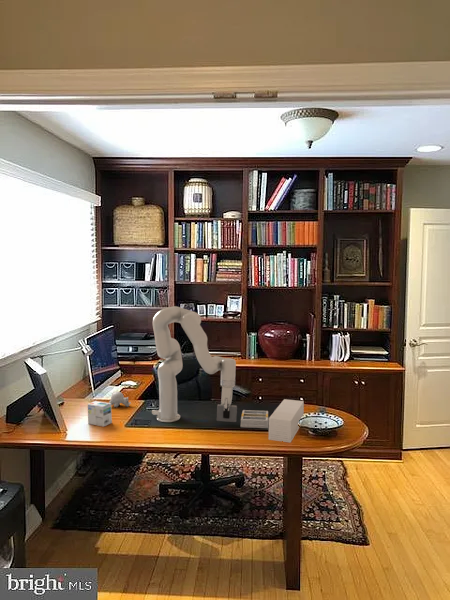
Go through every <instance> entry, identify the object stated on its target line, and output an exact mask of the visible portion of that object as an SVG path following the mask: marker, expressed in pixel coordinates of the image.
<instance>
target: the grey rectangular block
mask: <svg viewBox="0 0 450 600" xmlns="http://www.w3.org/2000/svg"><path fill="white" fill-rule="evenodd" d="M304 402H305V401H304V400H297V399H296V400H295V399H287V398H286V399H285V398H284V399H283V400H282V401H281V403H279V405H278V406H277V407H276V408H275V409H274V411H273V413H272V414H271V415H270V416H268V441H276V442H282V441H283V442H284V443H292V441H293V439H294V437H295V436H296V435H297V433H298V431H299V430H300V428H299V426H298V422H299V420H300V419H301V417H302V416H303V415H304V414H305V411H304V410H305V409H304V408H305V406H304V405H305V403H304ZM304 416H305V415H304Z"/></svg>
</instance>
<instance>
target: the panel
mask: <svg viewBox="0 0 450 600" xmlns="http://www.w3.org/2000/svg"><path fill="white" fill-rule="evenodd" d="M223 410H224V404H223V405H221V403H220V404H219V403H218V404H217V406H216V422H226V423H227V422H231V423H236V422H237V413H238V411H237V410H238V406H237V405H235V404H231V405H230V406H229V411H230V416H229V419H227V418H223Z"/></svg>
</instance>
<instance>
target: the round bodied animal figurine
mask: <svg viewBox="0 0 450 600" xmlns="http://www.w3.org/2000/svg"><path fill="white" fill-rule="evenodd" d="M108 403H111V406H113V407H114V408H118V407H119V406H120V404H122V405H124V406H125V407H126V408H127V407H129V406H130V405H132V403H131V401H129V396H127V397H124V394H123V392H121V391H117V390H116V391H115V392H112V394H111V396H110V400H109V402H108Z"/></svg>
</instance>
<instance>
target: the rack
mask: <svg viewBox="0 0 450 600" xmlns="http://www.w3.org/2000/svg"><path fill="white" fill-rule="evenodd" d="M240 428H252V429H253V428H255V429H269V411H268V410H250V409H249V410H246V409H243V410H242V412H241V417H240Z"/></svg>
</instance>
